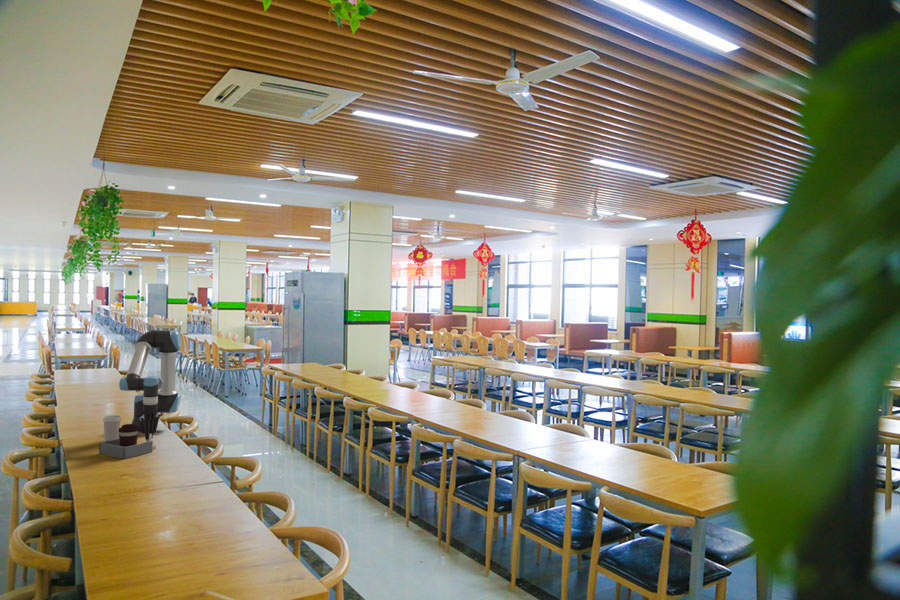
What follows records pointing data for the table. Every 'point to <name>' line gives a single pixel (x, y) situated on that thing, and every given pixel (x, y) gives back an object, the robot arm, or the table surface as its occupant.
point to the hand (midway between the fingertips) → (148, 444)
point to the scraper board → (152, 446)
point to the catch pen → (124, 449)
